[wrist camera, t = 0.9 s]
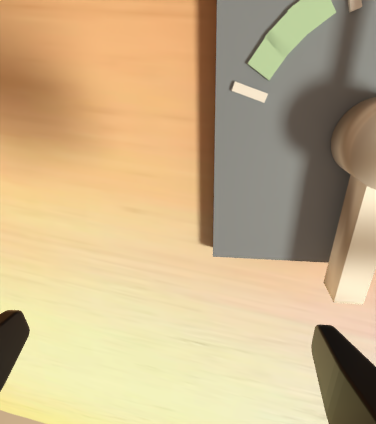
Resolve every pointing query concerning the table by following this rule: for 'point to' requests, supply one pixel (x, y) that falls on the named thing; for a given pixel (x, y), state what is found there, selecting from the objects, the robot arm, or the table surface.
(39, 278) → the table surface
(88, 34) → the table surface
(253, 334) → the table surface
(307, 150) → the grey flat square plate
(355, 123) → the beige dial pointer lever
